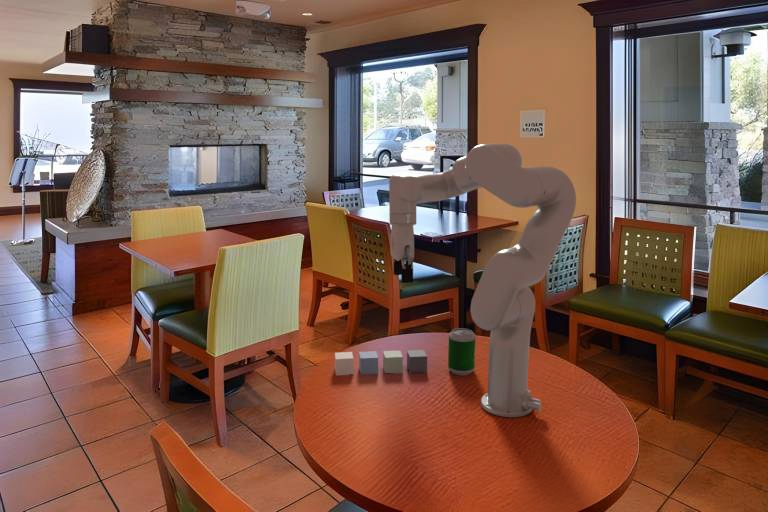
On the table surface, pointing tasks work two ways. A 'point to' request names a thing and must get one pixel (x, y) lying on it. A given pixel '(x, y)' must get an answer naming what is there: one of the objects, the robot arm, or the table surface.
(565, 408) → the table surface
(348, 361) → the cream block
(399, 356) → the sage block
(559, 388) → the table surface
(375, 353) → the slate block
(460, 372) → the soda can
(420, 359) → the charcoal block
